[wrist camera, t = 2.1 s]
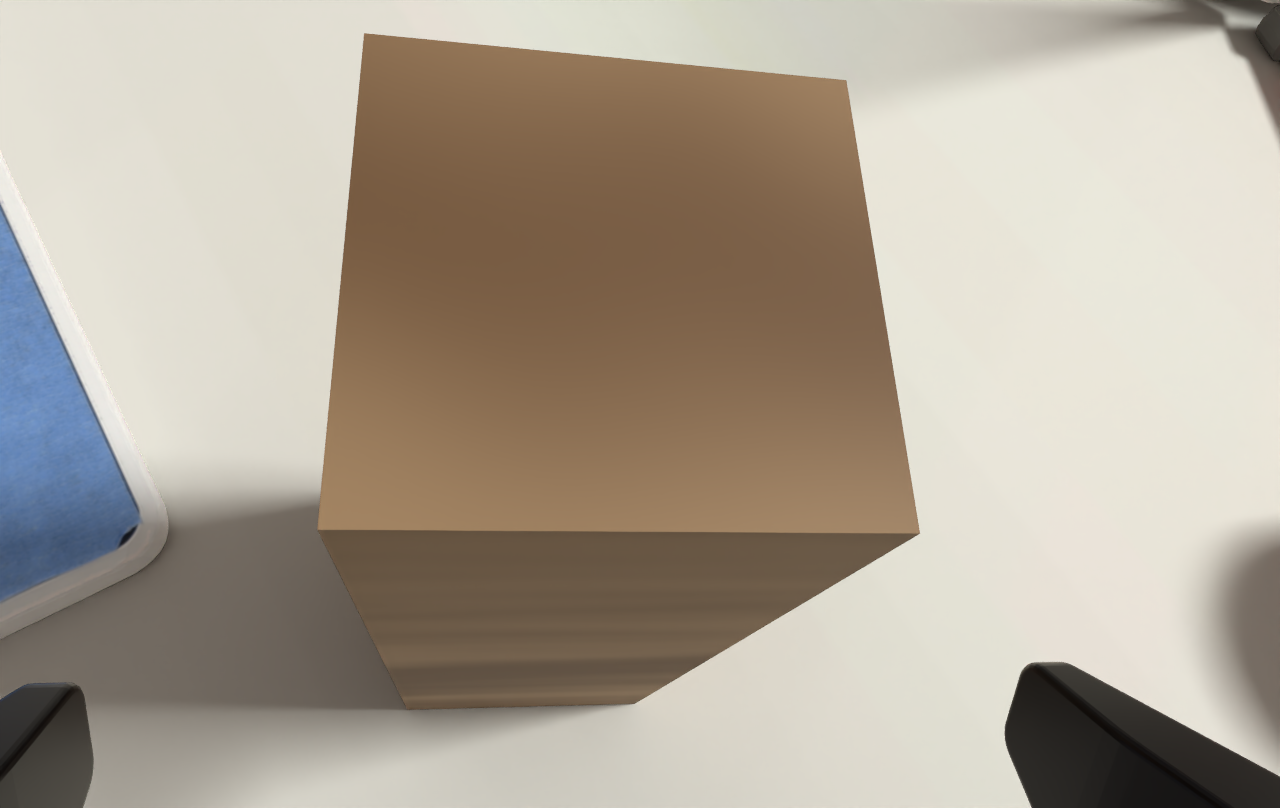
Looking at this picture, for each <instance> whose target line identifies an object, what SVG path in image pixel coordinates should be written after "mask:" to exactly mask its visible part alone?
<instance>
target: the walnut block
mask: <svg viewBox="0 0 1280 808" xmlns="http://www.w3.org/2000/svg"><path fill="white" fill-rule="evenodd" d="M317 530H318V532H319V534H320V536H321V538H322V540H323V542H324V544H325V546H326V548H327V550H328V552H329V554H330V556H331V558H332V560H333V562H334V564H335V566H336V568H337V570H338V572H339V574H340V576H341V578H342V580H343V582H344V584H345V586H346V588H347V590H348V592H349V594H350V596H351V598H352V600H353V602H354V604H355V606H356V608H357V610H358V612H359V614H360V616H361V618H362V620H363V622H364V624H365V626H366V628H367V630H368V632H369V634H370V636H371V638H372V640H373V642H374V644H375V646H376V648H377V650H378V652H379V654H380V656H381V658H382V660H383V662H384V664H385V666H386V668H387V670H388V672H389V674H390V676H391V678H392V680H393V682H394V684H395V686H396V688H397V690H398V692H399V694H400V696H401V698H402V700H403V702H404V704H405V706H406V708H407V710H415V709H452V708H490V707H527V706H564V705H601V704H635V703H637V702H638V701H640V700H642V699H643V698H645V697H647V696H648V695H650V694H652V693H653V692H655V691H657V690H658V689H660V688H662V687H663V686H665V685H667V684H669V683H670V682H672V681H674V680H675V679H677V678H679V677H680V676H682V675H684V674H685V673H687V672H689V671H690V670H692V669H694V668H695V667H697V666H699V665H700V664H702V663H704V662H705V661H707V660H709V659H710V658H712V657H714V656H715V655H717V654H719V653H720V652H722V651H724V650H725V649H727V648H729V647H731V646H732V645H734V644H736V643H737V642H739V641H741V640H742V639H744V638H746V637H747V636H749V635H751V634H752V633H754V632H756V631H757V630H759V629H761V628H762V627H764V626H766V625H767V624H769V623H771V622H772V621H774V620H776V619H777V618H779V617H781V616H782V615H784V614H786V613H788V612H789V611H791V610H793V609H794V608H796V607H798V606H799V605H801V604H803V603H804V602H806V601H808V600H809V599H811V598H813V597H814V596H816V595H818V594H819V593H821V592H823V591H824V590H826V589H828V588H829V587H831V586H833V585H834V584H836V583H838V582H839V581H841V580H843V579H844V578H846V577H848V576H850V575H851V574H853V573H855V572H856V571H858V570H860V569H861V568H863V567H865V566H866V565H868V564H870V563H871V562H873V561H875V560H876V559H878V558H880V557H881V556H883V555H885V554H886V553H888V552H890V551H891V550H893V549H895V548H896V547H898V546H900V545H901V544H903V543H905V542H906V541H908V540H910V539H912V538H913V537H915V536H917V535H918V534H920V531H919V525H918V519H917V513H916V507H915V500H914V494H913V488H912V482H911V476H910V470H909V464H908V457H907V451H906V445H905V439H904V433H903V427H902V420H901V414H900V408H899V402H898V396H897V390H896V384H895V377H894V371H893V365H892V359H891V353H890V347H889V340H888V334H887V328H886V322H885V316H884V310H883V304H882V297H881V291H880V285H879V279H878V273H877V267H876V261H875V254H874V248H873V242H872V236H871V230H870V224H869V217H868V211H867V205H866V199H865V193H864V187H863V181H862V174H861V168H860V162H859V156H858V150H857V144H856V138H855V131H854V125H853V119H852V113H851V107H850V101H849V94H848V88H847V82H846V80H837V79H826V78H816V77H806V76H796V75H785V74H775V73H765V72H755V71H744V70H734V69H724V68H714V67H703V66H693V65H683V64H673V63H662V62H652V61H642V60H632V59H621V58H611V57H601V56H591V55H580V54H570V53H560V52H550V51H539V50H529V49H519V48H509V47H498V46H488V45H478V44H468V43H457V42H447V41H437V40H427V39H416V38H406V37H396V36H386V35H375V34H365V33H364V41H363V52H362V62H361V73H360V84H359V94H358V105H357V115H356V126H355V136H354V147H353V158H352V168H351V179H350V189H349V200H348V210H347V221H346V232H345V242H344V253H343V263H342V274H341V285H340V295H339V306H338V316H337V327H336V337H335V348H334V359H333V369H332V380H331V390H330V401H329V411H328V422H327V433H326V443H325V454H324V464H323V475H322V485H321V496H320V507H319V517H318V528H317Z"/></svg>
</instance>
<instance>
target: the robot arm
mask: <svg viewBox="0 0 1280 808" xmlns="http://www.w3.org/2000/svg"><path fill="white" fill-rule="evenodd" d="M1005 741H1006V746H1007V749H1008V752H1009V755H1010V757H1011V760H1012V762H1013V764H1014V767H1015V769H1016V771H1017V774H1018V776H1019V779H1020V781H1021V783H1022V786H1023V788H1024V790H1025V793H1026V795H1027V798H1028V800H1029V802H1030V805H1031V807H1032V808H1280V776H1278V775H1276V774H1274V773H1272V772H1270V771H1268V770H1267V769H1265V768H1263V767H1261V766H1259V765H1257V764H1255V763H1254V762H1252V761H1250V760H1248V759H1246V758H1244V757H1242V756H1241V755H1239V754H1237V753H1235V752H1233V751H1231V750H1229V749H1227V748H1226V747H1224V746H1222V745H1220V744H1218V743H1216V742H1214V741H1213V740H1211V739H1209V738H1207V737H1205V736H1203V735H1201V734H1200V733H1198V732H1196V731H1194V730H1192V729H1190V728H1188V727H1186V726H1185V725H1183V724H1181V723H1179V722H1177V721H1175V720H1173V719H1172V718H1170V717H1168V716H1166V715H1164V714H1162V713H1160V712H1159V711H1157V710H1155V709H1153V708H1151V707H1149V706H1147V705H1145V704H1144V703H1142V702H1140V701H1138V700H1136V699H1134V698H1132V697H1131V696H1129V695H1127V694H1125V693H1123V692H1121V691H1119V690H1118V689H1116V688H1114V687H1112V686H1110V685H1108V684H1106V683H1104V682H1103V681H1101V680H1099V679H1097V678H1095V677H1093V676H1091V675H1090V674H1088V673H1086V672H1084V671H1082V670H1080V669H1078V668H1077V667H1075V666H1073V665H1071V664H1068V663H1064V662H1034V663H1031V664H1028V665H1027V666H1026V667H1025V668H1024V669H1023V670H1022V672H1021V674H1020V677H1019V680H1018V684H1017V687H1016V690H1015V694H1014V697H1013V700H1012V704H1011V707H1010V710H1009V714H1008V717H1007V720H1006V724H1005ZM92 774H93V750H92V744H91V737H90V731H89V724H88V718H87V711H86V705H85V699H84V695H83V692H82V690H81V688H80V687H79V686H77V685H76V684H74V683H33V684H27V685H24V686H22V687H20V688H18V689H16V690H15V691H13V692H12V693H10V694H9V695H7V696H6V697H4V698H2V699H1V700H0V808H83V806H84V803H85V800H86V797H87V793H88V790H89V787H90V784H91V779H92Z"/></svg>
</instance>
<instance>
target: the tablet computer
mask: <svg viewBox="0 0 1280 808" xmlns="http://www.w3.org/2000/svg"><path fill="white" fill-rule="evenodd" d="M168 521H169V520H168V515H167V510H166V506H165V504H164V501H163V499H162V497H161V495H160V493H159V491H158V489H157V486H156V484H155V482H154V480H153V478H152V476H151V474H150V472H149V470H148V468H147V465H146V463H145V461H144V459H143V457H142V455H141V453H140V451H139V448H138V446H137V444H136V442H135V440H134V438H133V435H132V433H131V431H130V429H129V427H128V425H127V423H126V420H125V418H124V416H123V414H122V412H121V410H120V408H119V406H118V403H117V401H116V399H115V397H114V395H113V393H112V391H111V389H110V386H109V384H108V382H107V380H106V378H105V375H104V373H103V371H102V369H101V367H100V365H99V362H98V360H97V358H96V356H95V354H94V352H93V349H92V347H91V345H90V343H89V341H88V338H87V336H86V334H85V332H84V330H83V328H82V325H81V323H80V321H79V319H78V317H77V315H76V313H75V310H74V308H73V306H72V304H71V302H70V300H69V298H68V295H67V293H66V291H65V289H64V287H63V285H62V283H61V280H60V278H59V276H58V274H57V272H56V270H55V268H54V265H53V263H52V261H51V259H50V257H49V255H48V252H47V250H46V248H45V246H44V244H43V241H42V239H41V237H40V235H39V233H38V230H37V228H36V226H35V224H34V222H33V219H32V217H31V215H30V213H29V211H28V209H27V207H26V205H25V202H24V200H23V198H22V196H21V194H20V192H19V190H18V188H17V186H16V183H15V181H14V179H13V177H12V175H11V173H10V170H9V168H8V166H7V163H6V161H5V159H4V157H3V155H2V153H1V151H0V639H2V638H4V637H6V636H8V635H10V634H12V633H14V632H16V631H18V630H21V629H23V628H25V627H27V626H29V625H31V624H33V623H35V622H37V621H39V620H41V619H43V618H45V617H47V616H49V615H52V614H54V613H56V612H58V611H60V610H62V609H64V608H66V607H68V606H70V605H72V604H74V603H77V602H79V601H81V600H83V599H85V598H87V597H89V596H91V595H93V594H95V593H97V592H99V591H101V590H103V589H105V588H107V587H109V586H111V585H113V584H115V583H117V582H119V581H121V580H123V579H125V578H127V577H129V576H131V575H133V574H135V573H137V572H138V571H140V570H141V569H143V568H144V567H145V566H147V565H148V564H149V563H150V562H151V561H153V560H154V558H155V557H156V556H157V555H158V554H159V553H160V551H161V550H162V548H163V546H164V544H165V543H166V540H167V535H168Z"/></svg>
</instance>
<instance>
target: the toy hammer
mask: <svg viewBox="0 0 1280 808" xmlns="http://www.w3.org/2000/svg"><path fill="white" fill-rule="evenodd" d="M1256 35H1257V37H1258V39H1259V40H1260V42H1261V44H1262V45H1263V46H1264V48H1265V49H1266V51H1267V52H1268V53H1269V55H1270V56H1271V58H1272V59H1273V60H1274V61H1280V4H1279V5H1277V6H1276V7H1274V8H1273V9H1272V10H1271V11H1270V12H1269V13H1268V14H1267V15H1266V16H1265V17H1264V18H1263V19H1262V21H1261V22H1260V24H1259V25H1258V27H1257V31H1256Z"/></svg>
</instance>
